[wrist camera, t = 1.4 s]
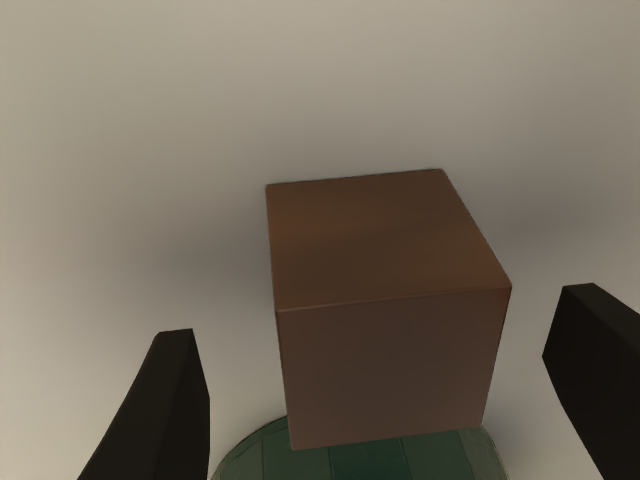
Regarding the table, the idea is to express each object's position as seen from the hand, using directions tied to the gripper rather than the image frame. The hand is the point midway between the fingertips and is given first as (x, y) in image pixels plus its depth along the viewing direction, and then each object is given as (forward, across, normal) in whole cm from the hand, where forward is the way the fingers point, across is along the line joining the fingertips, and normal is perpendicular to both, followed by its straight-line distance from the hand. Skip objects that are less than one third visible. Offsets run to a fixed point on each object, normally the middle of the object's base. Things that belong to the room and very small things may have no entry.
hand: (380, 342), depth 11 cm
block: (+3, 0, 0) cm, 3 cm away
